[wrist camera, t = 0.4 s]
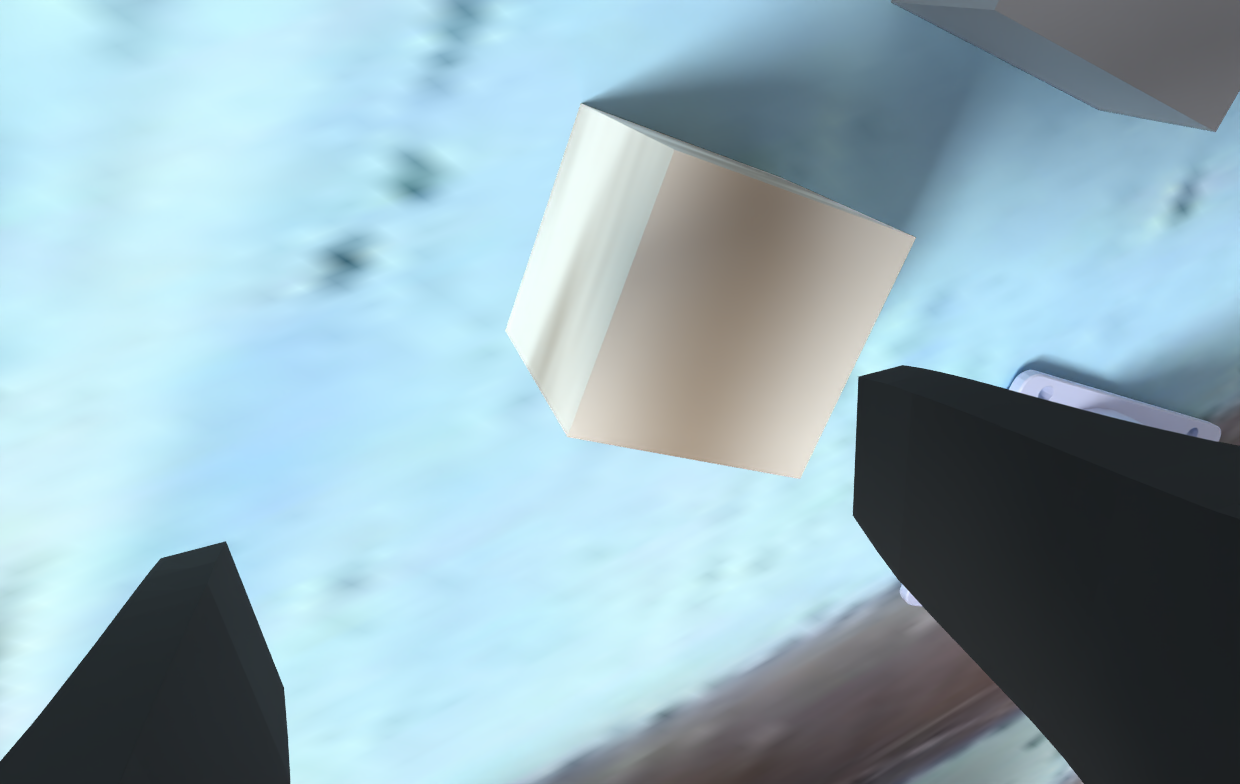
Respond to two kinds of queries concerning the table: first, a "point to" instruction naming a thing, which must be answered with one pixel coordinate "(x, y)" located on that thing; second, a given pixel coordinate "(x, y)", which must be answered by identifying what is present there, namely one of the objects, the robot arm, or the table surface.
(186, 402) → the table surface
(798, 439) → the cream cube
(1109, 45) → the gray base block
